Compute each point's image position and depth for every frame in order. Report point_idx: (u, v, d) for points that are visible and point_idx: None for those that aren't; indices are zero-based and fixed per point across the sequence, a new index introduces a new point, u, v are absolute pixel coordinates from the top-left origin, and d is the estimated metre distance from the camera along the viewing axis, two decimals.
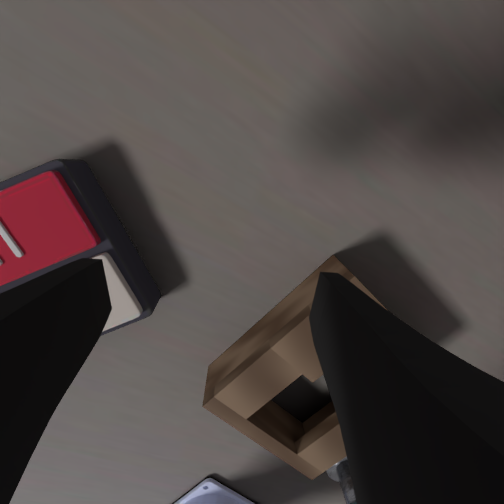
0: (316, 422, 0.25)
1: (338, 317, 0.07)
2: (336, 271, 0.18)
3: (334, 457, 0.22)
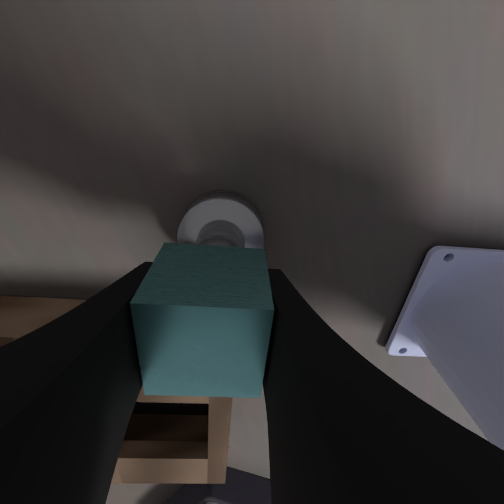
0: None
1: None
2: None
3: None
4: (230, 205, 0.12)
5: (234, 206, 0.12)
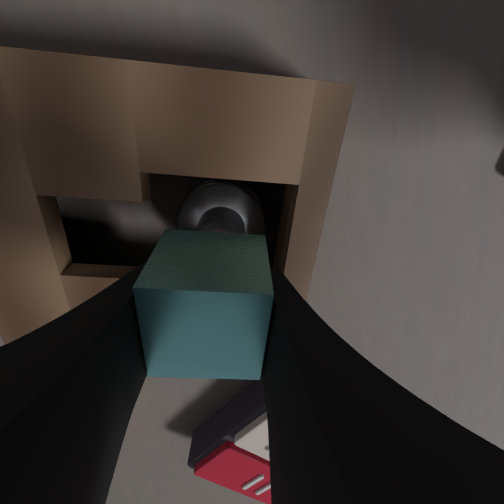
0: None
1: None
2: None
3: (256, 98, 0.08)
4: (231, 192, 0.12)
5: (235, 193, 0.12)
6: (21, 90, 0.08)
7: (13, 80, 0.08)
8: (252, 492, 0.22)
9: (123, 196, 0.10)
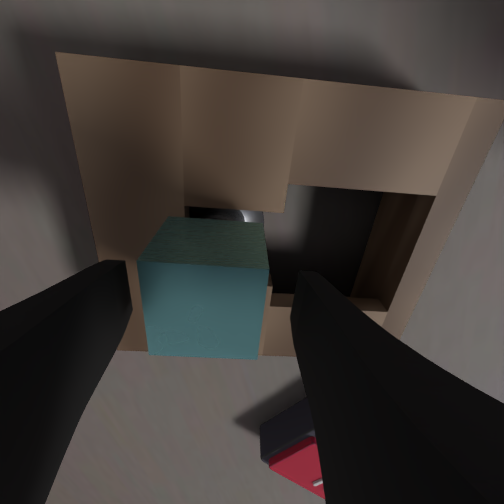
0: None
1: (312, 316, 0.07)
2: None
3: (416, 114, 0.09)
4: None
5: None
6: (197, 107, 0.08)
7: (191, 98, 0.08)
8: (319, 489, 0.23)
9: (267, 207, 0.10)
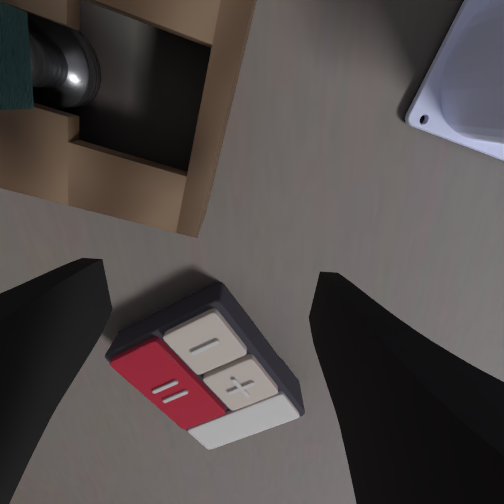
0: None
1: (337, 317, 0.07)
2: None
3: None
4: None
5: None
6: None
7: None
8: (160, 400, 0.23)
9: (48, 12, 0.10)
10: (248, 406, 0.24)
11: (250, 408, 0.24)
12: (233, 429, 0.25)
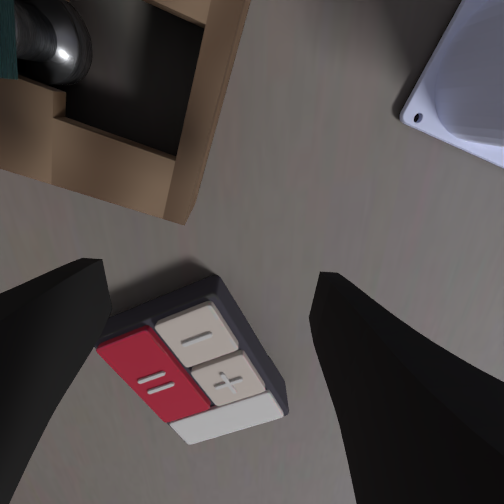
0: None
1: (338, 317, 0.07)
2: None
3: None
4: None
5: None
6: None
7: None
8: (144, 390, 0.22)
9: None
10: (233, 402, 0.24)
11: (235, 405, 0.24)
12: (216, 425, 0.25)
